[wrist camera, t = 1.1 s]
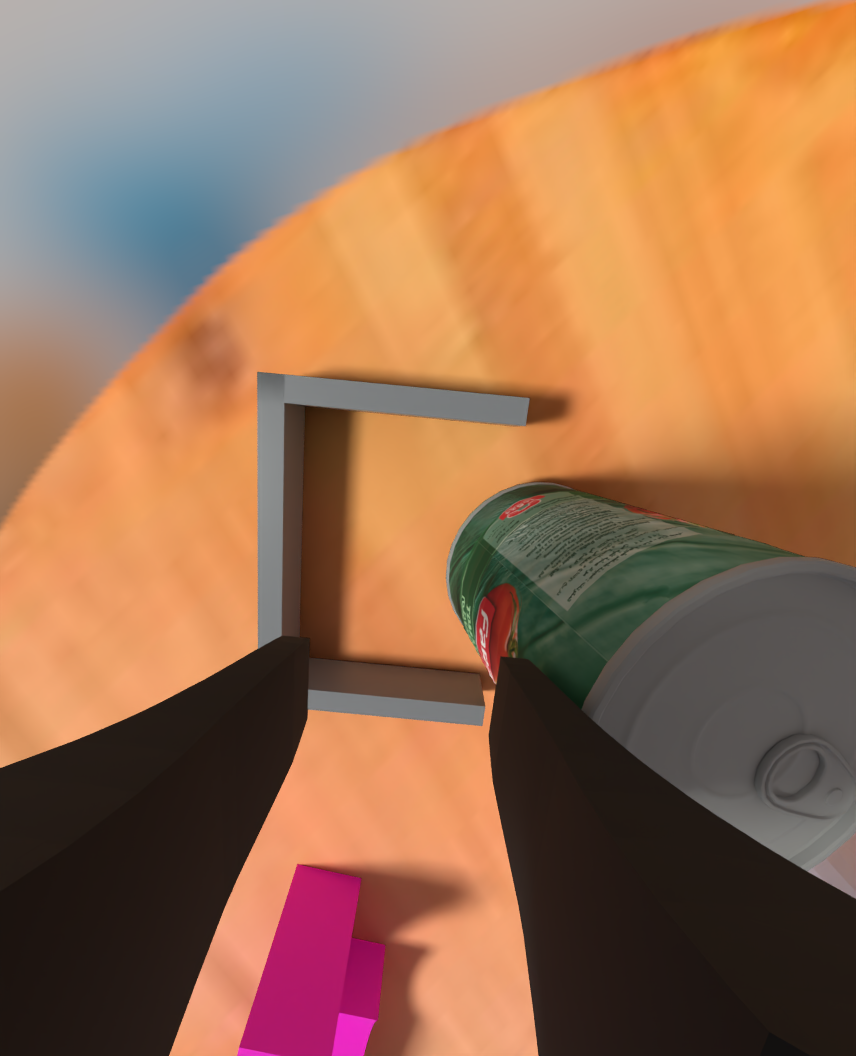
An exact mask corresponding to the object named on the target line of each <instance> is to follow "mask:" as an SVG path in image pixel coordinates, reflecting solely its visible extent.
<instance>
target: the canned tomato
mask: <svg viewBox="0 0 856 1056" xmlns="http://www.w3.org/2000/svg"><path fill="white" fill-rule="evenodd" d="M446 583H447V590H448V596H449V599H450V602H451V605H452V607H453V610H454V612H455V614H456V615H457V617H458V619H459V620H460V622H461V623H462V625H463V626H464V629H465V631H466V632H467V634H468V635H469V638H470V640H471V641H472V643H473V645H474V646H475V649H476V651H477V652H478V654H479V656H480V657H481V659H482V662H483V663H484V665H485V667H486V668H487V670H488V672H489V675H490V676H491V678H492V679H493V681H494V683H495V684H496V683H497V676H498V669H499V663H500V656H502V657H513V658H523V659H529V660H530V661H531V662H532V663H533V664H534V665H535V666H536V667H538V668H539V669H540V670H541V671H542V672H543V673H544V674H545V675H546V676H547V677H548V678H549V679H550V680H551V681H552V682H553V683H554V684H555V685H556V686H557V687H558V688H559V689H560V690H561V691H562V692H563V693H564V694H565V695H566V696H567V697H568V698H569V699H570V700H571V701H573V702H574V703H575V704H576V705H577V706H578V707H579V708H580V709H581V710H582V711H583V712H584V713H585V714H586V715H588V716H589V717H590V718H591V719H592V720H593V721H594V722H595V723H596V724H598V725H599V726H600V727H601V728H602V729H603V730H604V731H605V732H607V733H608V734H609V735H610V736H611V737H613V738H614V739H615V740H616V741H617V742H619V743H620V744H621V745H622V746H623V747H625V748H626V749H627V750H628V751H629V752H631V753H632V754H633V755H634V756H635V757H637V758H638V759H639V760H641V761H642V762H643V763H644V764H646V765H647V766H648V767H649V768H651V769H652V770H653V771H655V772H656V773H658V774H659V775H660V776H662V777H663V778H664V779H666V780H667V781H669V782H670V783H671V784H673V785H674V786H675V787H677V788H678V789H679V790H681V791H682V792H684V793H685V794H686V795H688V796H689V797H690V798H692V799H693V800H695V801H696V802H698V803H699V804H701V805H702V806H704V807H705V808H707V809H708V810H710V811H711V812H712V813H714V814H715V815H717V816H719V817H720V818H722V819H723V820H725V821H726V822H728V823H730V824H731V825H733V826H734V827H736V828H737V829H739V830H740V831H742V832H744V833H745V834H747V835H748V836H750V837H751V838H753V839H755V840H756V841H758V842H759V843H761V844H762V845H764V846H766V847H767V848H769V849H770V850H772V851H774V852H775V853H777V854H779V855H781V856H782V857H784V858H786V859H787V860H789V861H791V862H792V863H794V864H796V865H797V866H799V867H801V868H802V869H804V870H806V871H809V870H810V869H812V868H813V867H815V866H816V865H818V864H819V863H821V862H823V861H824V860H825V859H826V858H827V857H829V856H830V855H831V854H832V853H833V852H835V851H836V850H837V849H838V848H839V847H841V846H842V845H843V844H844V843H845V842H847V841H848V840H849V839H850V838H851V837H852V836H853V835H854V834H855V833H856V567H853V566H849V565H845V564H842V563H838V562H834V561H830V560H826V559H822V558H816V557H805V556H802V555H798V554H795V553H792V552H789V551H785V550H782V549H779V548H777V547H774V546H771V545H768V544H766V543H762V542H758V541H754V540H750V539H747V538H743V537H739V536H736V535H734V534H730V533H726V532H722V531H719V530H715V529H711V528H708V527H706V526H702V525H698V524H694V523H690V522H686V521H684V520H681V519H677V518H673V517H669V516H666V515H663V514H659V513H656V512H652V511H648V510H646V509H642V508H638V507H634V506H631V505H628V504H624V503H620V502H617V501H614V500H610V499H606V498H603V497H600V496H596V495H592V494H589V493H585V492H581V491H578V490H574V489H572V488H570V487H567V486H563V485H560V484H556V483H547V482H531V483H525V484H519V485H515V486H513V487H510V488H507V489H505V490H502V491H500V492H498V493H497V494H495V495H493V496H492V497H490V498H488V499H487V500H485V501H484V502H483V503H482V504H481V505H479V506H478V507H477V508H476V509H475V510H474V511H473V512H472V513H471V514H470V515H469V516H468V518H467V519H466V520H465V522H464V523H463V524H462V526H461V527H460V529H459V531H458V533H457V535H456V537H455V539H454V541H453V543H452V545H451V549H450V553H449V556H448V560H447V570H446Z"/></svg>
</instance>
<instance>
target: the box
mask: <svg viewBox="0 0 856 1056" xmlns="http://www.w3.org/2000/svg"><path fill="white" fill-rule="evenodd" d="M257 397H258V649H259V648H260V647H262V646H264V645H265V644H267V643H269V642H271V641H273V640H275V639H276V638H279V637H281V636H292V637H300V598H301V556H302V513H303V470H304V427H305V406H308V407H318V408H328V409H339V410H349V411H360V412H370V413H380V414H391V415H401V416H412V417H422V418H432V419H443V420H453V421H464V422H474V423H484V424H495V425H505V426H526V420H527V413H528V406H529V399H530V398H523V397H513V396H503V395H492V394H482V393H472V392H461V391H451V390H440V389H430V388H420V387H409V386H399V385H388V384H378V383H368V382H357V381H347V380H337V379H326V378H316V377H305V376H295V375H285V374H274V373H264V372H257ZM308 709H309V710H320V711H330V712H341V713H351V714H362V715H372V716H383V717H393V718H404V719H414V720H425V721H435V722H446V723H456V724H467V725H477V726H482V725H483V718H484V711H485V702H484V696H483V691H482V685H481V679H480V674H476V673H466V672H455V671H445V670H434V669H424V668H413V667H403V666H392V665H382V664H371V663H361V662H350V661H340V660H329V659H319V658H309V682H308Z"/></svg>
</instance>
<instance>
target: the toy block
mask: <svg viewBox="0 0 856 1056" xmlns="http://www.w3.org/2000/svg"><path fill="white" fill-rule="evenodd" d="M360 884H361V878H358V877H353V876H349V875H344V874H340V873H335V872H331V871H326V870H322V869H317V868H313V867H308V866H303V865H299V864H297V867H296V870H295V874H294V877H293V880H292V883H291V886H290V889H289V892H288V896H287V899H286V902H285V905H284V908H283V911H282V914H281V918H280V921H279V924H278V927H277V930H276V933H275V936H274V940H273V943H272V946H271V949H270V952H269V955H268V958H267V962H266V965H265V968H264V971H263V974H262V977H261V980H260V984H259V987H258V990H257V993H256V996H255V999H254V1002H253V1006H252V1009H251V1012H250V1015H249V1018H248V1021H247V1024H246V1028H245V1031H244V1034H243V1037H242V1040H241V1043H240V1046H239V1050H238V1055H237V1056H364V1053H365V1049H366V1045H367V1041H368V1038H369V1035H370V1032H371V1029H372V1027H373V1025H374V1023H375V1022H376V1021H378V1015H379V1005H380V994H381V984H382V974H383V964H384V954H385V945H383V944H379V943H374V942H369V941H365V940H360V939H355V938H352V932H353V926H354V920H355V914H356V908H357V902H358V896H359V890H360Z"/></svg>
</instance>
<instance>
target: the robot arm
mask: <svg viewBox="0 0 856 1056" xmlns="http://www.w3.org/2000/svg"><path fill="white" fill-rule="evenodd" d="M309 648H310V638H303V637H292V636H281V637H279V638H276V639H275V640H273V641H271V642H269V643H267V644H265V645H264V646H262V647H260V648H259V649H257V650H255V651H253V652H252V653H250V654H248V655H247V656H245V657H243V658H241V659H240V660H238V661H236V662H235V663H233V664H231V665H229V666H228V667H226V668H224V669H222V670H221V671H219V672H217V673H215V674H214V675H212V676H210V677H208V678H206V679H205V680H203V681H201V682H199V683H197V684H195V685H193V686H191V687H189V688H187V689H185V690H184V691H182V692H180V693H178V694H176V695H174V696H172V697H170V698H168V699H166V700H164V701H162V702H161V703H159V704H157V705H155V706H152V707H150V708H148V709H146V710H144V711H142V712H140V713H138V714H136V715H133V716H131V717H129V718H127V719H125V720H122V721H120V722H118V723H115V724H113V725H111V726H108V727H106V728H104V729H101V730H99V731H97V732H95V733H92V734H90V735H87V736H85V737H82V738H80V739H78V740H75V741H73V742H70V743H67V744H64V745H62V746H59V747H56V748H54V749H51V750H48V751H46V752H43V753H40V754H37V755H35V756H32V757H29V758H27V759H24V760H21V761H18V762H16V763H13V764H10V765H8V766H5V767H2V768H0V1056H169V1054H170V1051H171V1049H172V1046H173V1043H174V1041H175V1038H176V1035H177V1032H178V1030H179V1027H180V1024H181V1022H182V1019H183V1016H184V1013H185V1011H186V1008H187V1005H188V1003H189V1000H190V997H191V994H192V992H193V989H194V986H195V984H196V981H197V978H198V976H199V973H200V970H201V968H202V965H203V963H204V960H205V957H206V955H207V952H208V950H209V947H210V944H211V942H212V939H213V937H214V934H215V931H216V929H217V926H218V924H219V921H220V918H221V916H222V913H223V911H224V908H225V906H226V903H227V901H228V899H229V896H230V894H231V892H232V890H233V887H234V885H235V883H236V880H237V878H238V876H239V874H240V872H241V870H242V868H243V866H244V863H245V861H246V859H247V857H248V855H249V853H250V851H251V849H252V847H253V845H254V843H255V840H256V838H257V836H258V834H259V832H260V830H261V828H262V826H263V824H264V822H265V820H266V818H267V815H268V813H269V811H270V809H271V807H272V805H273V803H274V801H275V799H276V797H277V794H278V792H279V790H280V788H281V786H282V784H283V782H284V780H285V778H286V775H287V773H288V771H289V769H290V767H291V765H292V762H293V759H294V757H295V754H296V751H297V748H298V745H299V742H300V739H301V736H302V733H303V730H304V727H305V724H306V721H307V716H308V682H309ZM489 745H490V757H491V768H492V778H493V785H494V790H495V795H496V800H497V805H498V810H499V815H500V819H501V824H502V829H503V834H504V839H505V843H506V848H507V853H508V858H509V862H510V867H511V872H512V877H513V881H514V886H515V891H516V896H517V900H518V905H519V911H520V917H521V923H522V929H523V934H524V941H525V949H526V957H527V965H528V973H529V980H530V988H531V996H532V1004H533V1012H534V1020H535V1029H536V1037H537V1046H538V1055H539V1056H856V833H855V834H854V835H853V836H852V837H851V838H850V839H849V840H848V841H847V842H845V843H844V844H843V845H842V846H841V847H839V848H838V849H837V850H836V851H835V852H833V853H832V854H831V855H830V856H829V857H827V858H826V859H825V860H824V861H823V862H821V863H819V864H818V865H816V866H815V867H813V868H812V869H810V870H809V871H806V870H804V869H802V868H801V867H799V866H797V865H796V864H794V863H792V862H791V861H789V860H787V859H786V858H784V857H782V856H781V855H779V854H777V853H775V852H774V851H772V850H770V849H769V848H767V847H766V846H764V845H762V844H761V843H759V842H758V841H756V840H755V839H753V838H751V837H750V836H748V835H747V834H745V833H744V832H742V831H740V830H739V829H737V828H736V827H734V826H733V825H731V824H730V823H728V822H726V821H725V820H723V819H722V818H720V817H719V816H717V815H715V814H714V813H712V812H711V811H710V810H708V809H707V808H705V807H704V806H702V805H701V804H699V803H698V802H696V801H695V800H693V799H692V798H690V797H689V796H688V795H686V794H685V793H684V792H682V791H681V790H679V789H678V788H677V787H675V786H674V785H673V784H671V783H670V782H669V781H667V780H666V779H664V778H663V777H662V776H660V775H659V774H658V773H656V772H655V771H653V770H652V769H651V768H649V767H648V766H647V765H646V764H644V763H643V762H642V761H641V760H639V759H638V758H637V757H635V756H634V755H633V754H632V753H631V752H629V751H628V750H627V749H626V748H625V747H623V746H622V745H621V744H620V743H619V742H617V741H616V740H615V739H614V738H613V737H611V736H610V735H609V734H608V733H607V732H605V731H604V730H603V729H602V728H601V727H600V726H599V725H598V724H596V723H595V722H594V721H593V720H592V719H591V718H590V717H589V716H588V715H586V714H585V713H584V712H583V711H582V710H581V709H580V708H579V707H578V706H577V705H576V704H575V703H574V702H573V701H571V700H570V699H569V698H568V697H567V696H566V695H565V694H564V693H563V692H562V691H561V690H560V689H559V688H558V687H557V686H556V685H555V684H554V683H553V682H552V681H551V680H550V679H549V678H548V677H547V676H546V675H545V674H544V673H543V672H542V671H541V670H540V669H539V668H538V667H536V666H535V665H534V664H533V663H532V662H531V661H530V660H529V659H523V658H513V657H502V656H500V663H499V669H498V676H497V683H496V690H495V696H494V703H493V710H492V716H491V723H490V730H489Z"/></svg>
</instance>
